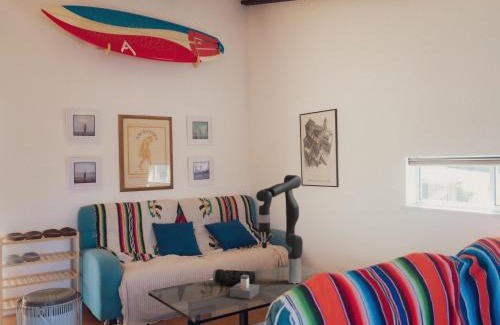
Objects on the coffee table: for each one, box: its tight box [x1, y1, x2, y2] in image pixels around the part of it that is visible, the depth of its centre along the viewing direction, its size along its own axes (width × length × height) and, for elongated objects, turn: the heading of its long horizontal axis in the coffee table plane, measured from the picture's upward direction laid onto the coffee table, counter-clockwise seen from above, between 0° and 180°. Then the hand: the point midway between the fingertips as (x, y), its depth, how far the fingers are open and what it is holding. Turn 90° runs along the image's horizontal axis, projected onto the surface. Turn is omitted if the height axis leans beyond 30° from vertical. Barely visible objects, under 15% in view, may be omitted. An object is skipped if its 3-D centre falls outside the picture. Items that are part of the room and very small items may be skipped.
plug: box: [241, 275, 249, 288], centre depth 278 cm, size 4×4×11 cm
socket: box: [229, 283, 260, 300], centre depth 278 cm, size 14×14×6 cm
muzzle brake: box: [212, 268, 256, 286], centre depth 300 cm, size 10×28×10 cm, turn 78°
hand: (264, 248), depth 282 cm, fingers closed
